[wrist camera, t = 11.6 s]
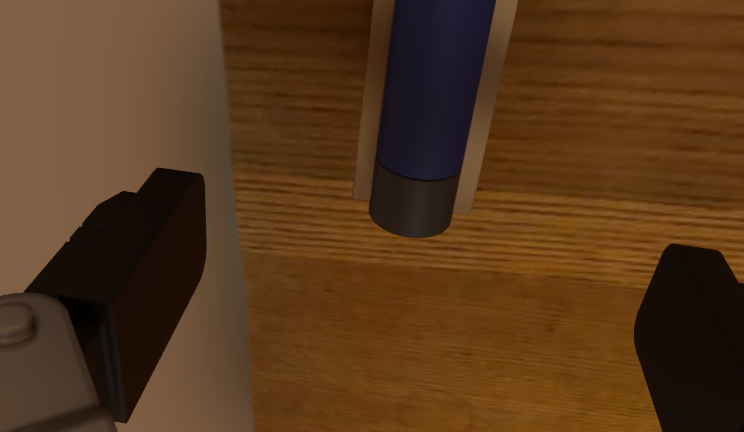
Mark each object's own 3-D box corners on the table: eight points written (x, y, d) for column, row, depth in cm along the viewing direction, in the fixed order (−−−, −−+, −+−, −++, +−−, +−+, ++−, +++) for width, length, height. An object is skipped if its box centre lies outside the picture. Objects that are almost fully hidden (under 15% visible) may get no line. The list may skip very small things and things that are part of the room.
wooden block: (411, -164, 27) (388, -135, 17) (509, -151, 27) (544, -114, 17) (382, 72, 33) (351, 198, 23) (464, 83, 33) (470, 216, 23)
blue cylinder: (412, -110, 18) (402, -96, 15) (512, -96, 18) (516, -80, 15) (374, 188, 23) (362, 230, 20) (452, 201, 22) (448, 245, 20)
